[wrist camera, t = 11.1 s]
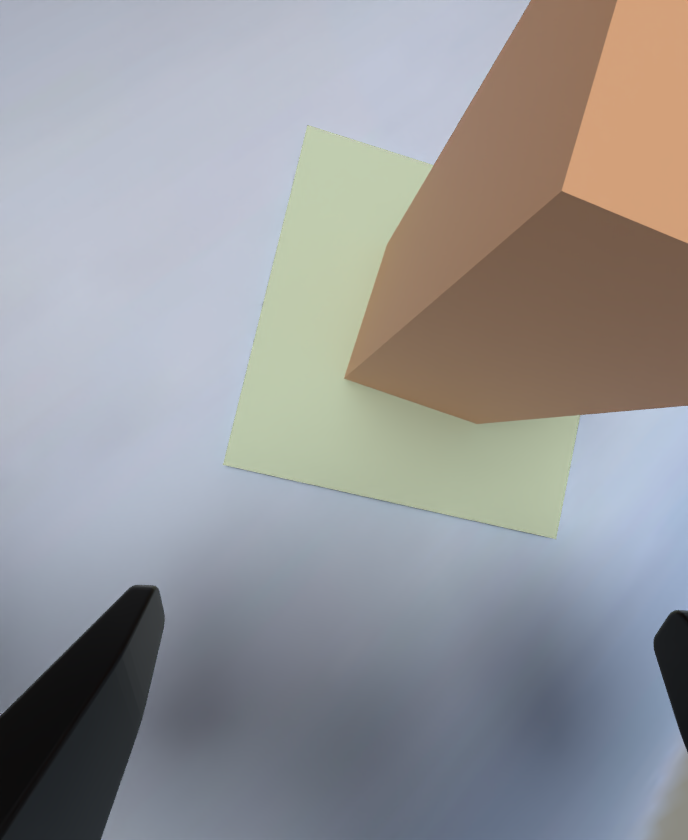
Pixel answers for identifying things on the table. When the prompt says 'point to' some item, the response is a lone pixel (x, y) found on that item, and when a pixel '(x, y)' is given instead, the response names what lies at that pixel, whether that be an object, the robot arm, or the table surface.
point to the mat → (360, 405)
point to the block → (549, 230)
